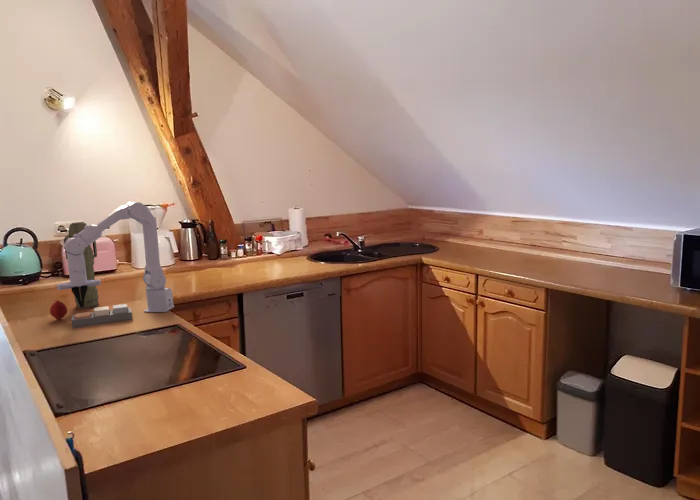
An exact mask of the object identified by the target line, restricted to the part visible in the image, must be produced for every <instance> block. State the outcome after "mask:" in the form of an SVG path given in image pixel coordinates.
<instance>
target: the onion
mask: <svg viewBox="0 0 700 500" xmlns="http://www.w3.org/2000/svg"><path fill="white" fill-rule="evenodd" d="M49 312H50V315H51V317H52V318H54V319H56V320H58V321H60V320H62V319H63V318H64V317H66V315H67V313H68V308H67V306H66V304H65V303H63V302H62V301H60V300H58V299H54V303H53V304H51V306H50V308H49Z"/></svg>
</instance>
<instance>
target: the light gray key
mask: <svg viewBox="0 0 700 500" xmlns="http://www.w3.org/2000/svg"><path fill="white" fill-rule="evenodd" d="M112 308H113V309H112V310H113V312H114V314H118V313H125V312H128V308H129V307H128V304H127V303H124V304H123V303H122V304H116V305H115V304H113V305H112Z"/></svg>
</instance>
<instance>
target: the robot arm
mask: <svg viewBox="0 0 700 500" xmlns="http://www.w3.org/2000/svg"><path fill="white" fill-rule="evenodd" d="M130 219H133V220H135V221H136V222H138V224H140V225H142V232H143V233H142V234H143V243H144V255H145V256H144V257H145V266H144V272H143V273H144V274H143V275H142V280H143V282H144V284H145V286H146V287H145V294H146V303H147V309H144V310H143V312H144V313H166V312H169V311H170V310H172V309H173V308H174V307H175V305H174V298H173V291H172V289H171V288H169V287H165V285H166V284H167V278H166V276H165V273H164V270H163V268H162V265H161V263H160V261H161V260H160V249H159V238H158V237H159V236H158V228H157V227H158V226H157V218H156V217H155V216H154V215H153V213H152V212H151V211H150V208H149V207H148V206H146V205H145V204H143V203H142V202H136V201H132V200H131V201H126V202H125V203H124V204H122V205H120V206H119V207H117V208H115V210H113V211H112V212H110V213H109V214H108V215H107V216H106V217H104V218H102V220H101V221H99V222H97V224H92V223H91V224H89V225H88V224H86V226H85V227H84V228H85V229H84V230H82V231H81V232H79V233H78V234H77V235H76V234H74V235H73V236H74V238H68V239H67V240H66V242H65V244H64V243H63V249H64V251H65V250H66V251H67V259H66V261H67V262H66V263H67V268H68V275H69V282H64V283H57V284H56V289H57V291H61V290H68V289H69V290H71V292H72V294H73V295H75V296H74V298H75V297H76V299H77V300H78V303H79V306H80V307H84V299H85V295H86V292H87V289H88V286H96V287H97V286H101V285H102V284H101V283H102V282H101V279H100V278H99V279H95V280H87V274H86V267H85V258H84V254H83V252H84V250H85V247H88V246H89V245H93V242H94V241H96V242H97V241H98V240H99V239H100V238H102V234H103V232H105V230H107V229H108V228H110V227H111V226H113V225H115V224H116V223H118V222H119V221H120V220H130ZM79 287H80V289H79ZM80 293H81V297H80Z"/></svg>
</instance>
